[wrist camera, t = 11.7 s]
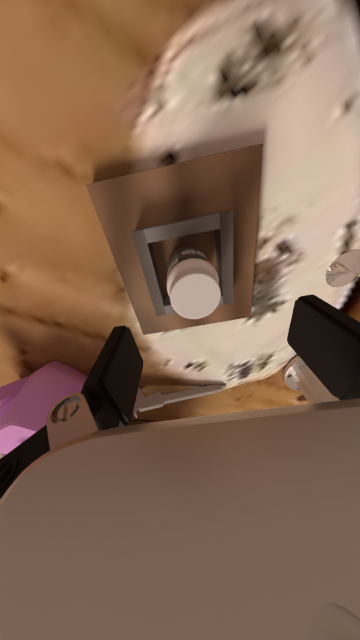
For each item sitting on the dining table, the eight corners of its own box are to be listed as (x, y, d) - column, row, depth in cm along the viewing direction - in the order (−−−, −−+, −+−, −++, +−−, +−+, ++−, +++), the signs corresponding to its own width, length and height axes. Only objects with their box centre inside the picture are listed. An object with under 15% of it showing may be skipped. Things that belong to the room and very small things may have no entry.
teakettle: (113, 411, 40) (93, 482, 30) (35, 408, 38) (-16, 483, 27) (108, 361, 31) (76, 439, 20) (4, 353, 28) (-91, 436, 18)
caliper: (129, 389, 36) (121, 420, 30) (128, 386, 35) (120, 417, 30) (224, 385, 36) (233, 415, 31) (225, 382, 36) (234, 412, 31)
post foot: (255, 148, 16) (277, 132, 12) (246, 311, 26) (258, 326, 22) (92, 186, 17) (72, 180, 13) (144, 328, 27) (141, 346, 23)
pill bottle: (215, 256, 20) (239, 284, 13) (195, 291, 22) (206, 330, 15) (178, 236, 18) (183, 255, 11) (161, 275, 20) (156, 311, 14)
